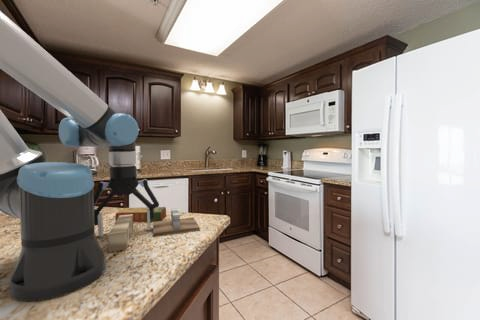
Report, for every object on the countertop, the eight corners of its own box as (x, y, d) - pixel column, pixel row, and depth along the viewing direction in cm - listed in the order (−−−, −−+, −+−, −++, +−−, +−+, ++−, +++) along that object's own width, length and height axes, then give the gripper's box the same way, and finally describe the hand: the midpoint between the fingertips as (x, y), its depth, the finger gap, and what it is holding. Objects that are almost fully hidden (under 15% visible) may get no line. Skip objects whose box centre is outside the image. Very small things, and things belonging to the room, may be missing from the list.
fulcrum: (199, 230, 74) (199, 214, 74) (153, 236, 69) (153, 219, 69) (193, 220, 85) (193, 205, 85) (153, 224, 80) (152, 209, 80)
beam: (126, 250, 60) (125, 231, 60) (109, 253, 59) (108, 234, 58) (133, 228, 77) (132, 214, 77) (120, 230, 76) (119, 215, 75)
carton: (124, 217, 90) (124, 207, 90) (166, 216, 92) (166, 205, 91) (115, 224, 82) (115, 212, 82) (161, 222, 83) (161, 211, 83)
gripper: (164, 163, 80) (166, 223, 81) (79, 166, 71) (82, 233, 72) (165, 164, 73) (167, 230, 74) (71, 168, 64) (75, 242, 65)
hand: (125, 232), depth 73 cm, fingers open, 13 cm apart
